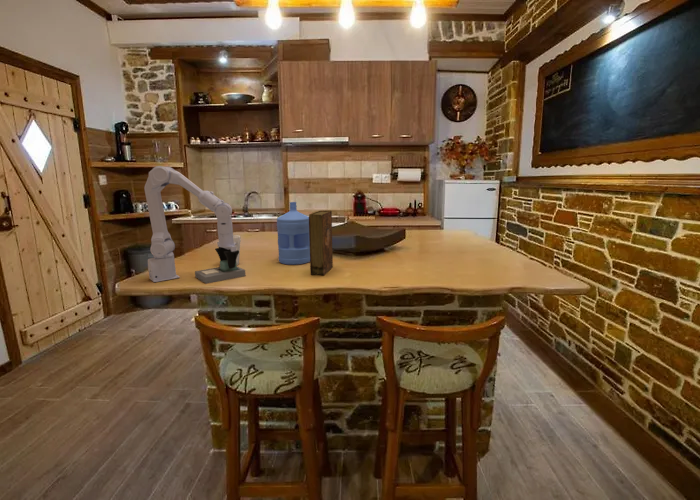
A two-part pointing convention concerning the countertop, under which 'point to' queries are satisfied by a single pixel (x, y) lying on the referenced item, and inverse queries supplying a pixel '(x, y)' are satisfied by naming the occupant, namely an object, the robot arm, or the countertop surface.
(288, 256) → the water jug
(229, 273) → the frame
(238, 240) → the foam cup
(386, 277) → the countertop surface
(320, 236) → the book
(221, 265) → the block
